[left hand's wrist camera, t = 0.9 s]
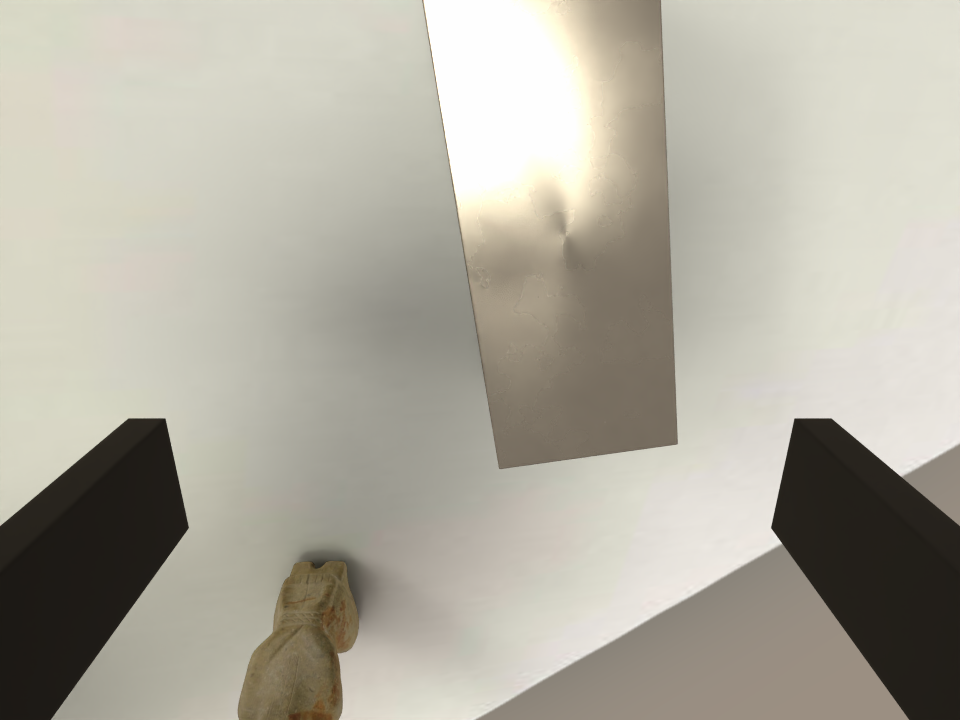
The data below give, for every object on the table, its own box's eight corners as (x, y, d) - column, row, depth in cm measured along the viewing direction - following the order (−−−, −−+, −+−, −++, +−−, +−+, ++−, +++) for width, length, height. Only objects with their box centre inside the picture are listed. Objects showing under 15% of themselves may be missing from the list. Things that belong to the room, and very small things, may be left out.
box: (627, 366, 37) (678, 444, 28) (492, 386, 37) (499, 469, 28) (600, -23, 29) (657, -90, 20) (432, 6, 30) (414, -47, 21)
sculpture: (289, 628, 43) (202, 865, 29) (279, 546, 41) (180, 764, 27) (370, 628, 44) (321, 866, 30) (365, 547, 41) (310, 765, 27)
